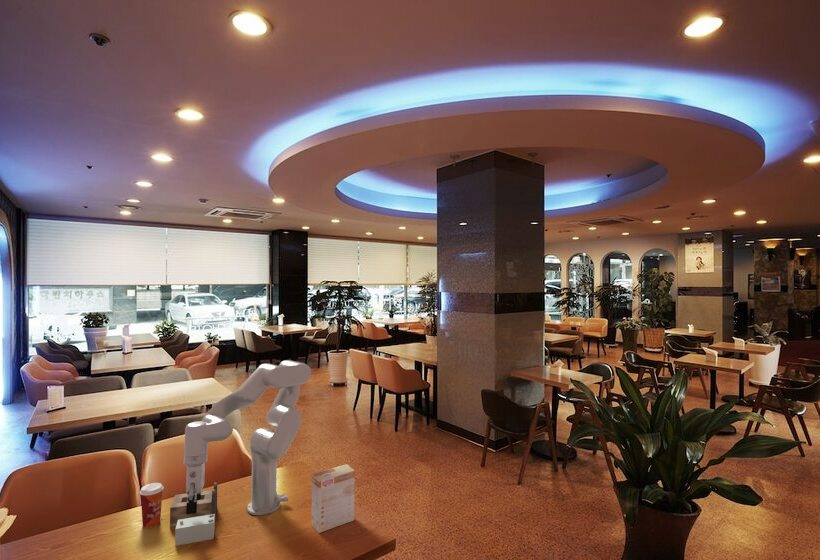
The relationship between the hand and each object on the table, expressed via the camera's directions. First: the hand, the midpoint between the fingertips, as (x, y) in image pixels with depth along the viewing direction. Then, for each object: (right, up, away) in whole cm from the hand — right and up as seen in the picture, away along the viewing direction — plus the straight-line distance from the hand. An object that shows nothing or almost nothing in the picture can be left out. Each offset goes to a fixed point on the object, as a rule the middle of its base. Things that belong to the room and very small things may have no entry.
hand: (193, 506), depth 155 cm
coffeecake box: (+47, -12, +11) cm, 50 cm away
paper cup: (-20, -11, +9) cm, 25 cm away
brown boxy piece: (-7, -11, +14) cm, 19 cm away
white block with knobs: (0, -12, +1) cm, 12 cm away
